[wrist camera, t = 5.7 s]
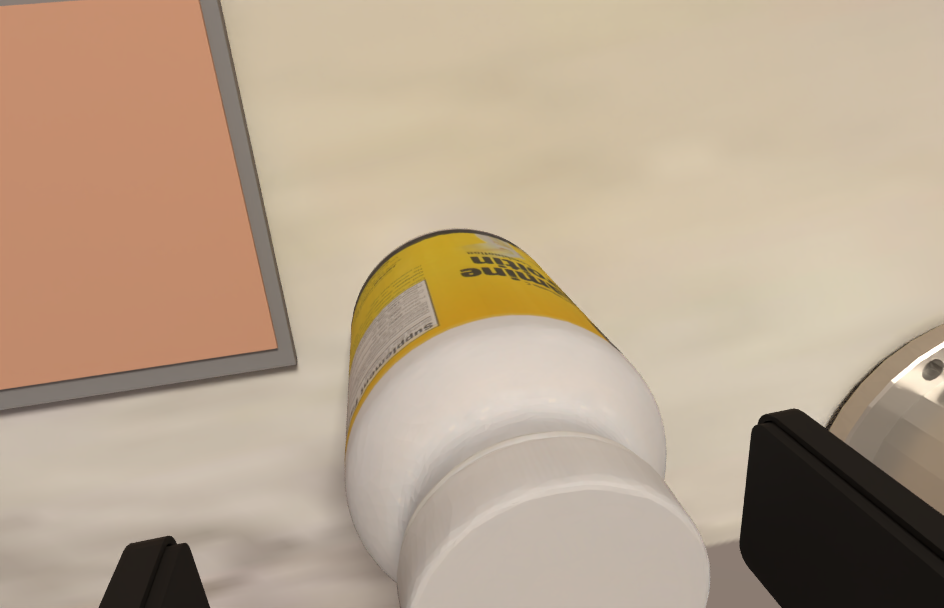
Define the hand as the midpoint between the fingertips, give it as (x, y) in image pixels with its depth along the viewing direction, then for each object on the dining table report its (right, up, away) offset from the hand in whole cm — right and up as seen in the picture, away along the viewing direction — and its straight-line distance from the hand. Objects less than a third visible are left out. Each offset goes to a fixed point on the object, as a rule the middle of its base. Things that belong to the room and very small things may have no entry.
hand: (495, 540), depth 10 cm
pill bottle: (-1, +3, +10) cm, 10 cm away
